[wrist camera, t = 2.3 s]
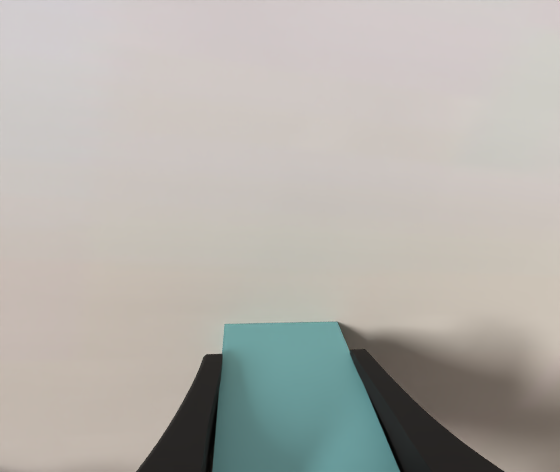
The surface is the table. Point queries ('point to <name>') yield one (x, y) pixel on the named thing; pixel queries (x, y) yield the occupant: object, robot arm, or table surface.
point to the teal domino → (294, 403)
